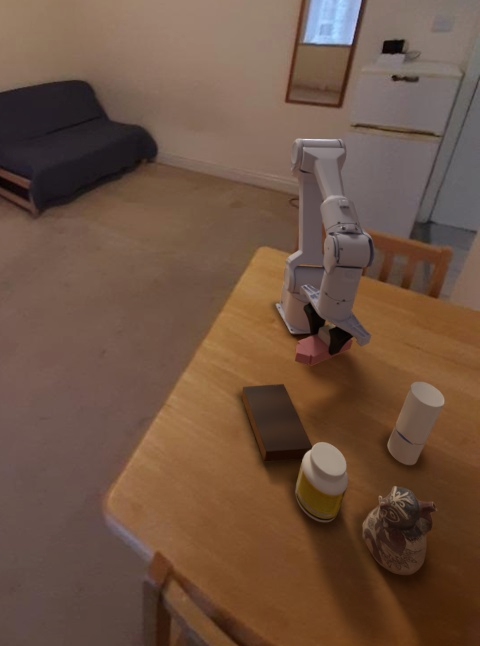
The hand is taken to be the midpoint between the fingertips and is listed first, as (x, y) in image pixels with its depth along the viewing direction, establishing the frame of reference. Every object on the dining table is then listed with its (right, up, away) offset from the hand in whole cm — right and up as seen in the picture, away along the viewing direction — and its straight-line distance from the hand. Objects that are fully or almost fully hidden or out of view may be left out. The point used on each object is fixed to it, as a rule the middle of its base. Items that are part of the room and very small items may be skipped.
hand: (324, 344), depth 80 cm
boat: (-1, -2, 0) cm, 2 cm away
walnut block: (-12, -13, -6) cm, 19 cm away
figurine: (-1, -20, -21) cm, 29 cm away
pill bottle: (-10, -18, -16) cm, 26 cm away
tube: (+8, -14, -10) cm, 19 cm away
